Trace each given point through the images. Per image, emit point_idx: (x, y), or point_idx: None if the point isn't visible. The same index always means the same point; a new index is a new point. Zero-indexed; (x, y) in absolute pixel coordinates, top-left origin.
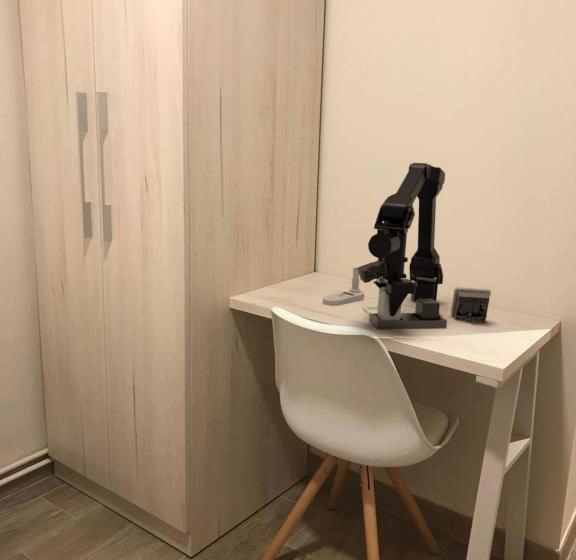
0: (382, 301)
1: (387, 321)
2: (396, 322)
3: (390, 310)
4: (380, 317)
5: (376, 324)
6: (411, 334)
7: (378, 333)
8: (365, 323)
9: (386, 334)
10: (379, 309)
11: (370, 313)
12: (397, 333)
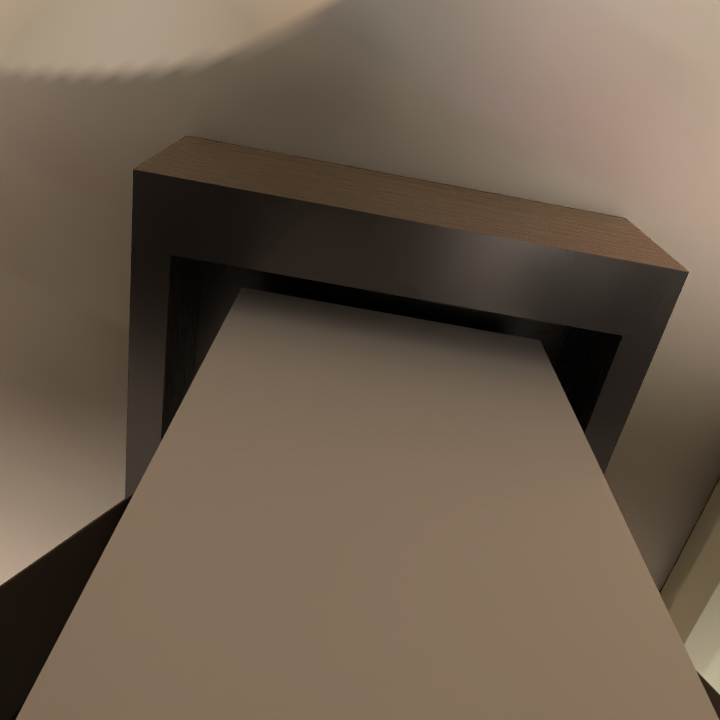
0: (268, 564)
1: (131, 348)
2: (131, 470)
3: (93, 522)
4: (367, 340)
5: (214, 162)
6: (17, 498)
7: (68, 99)
8: (625, 149)
9: (15, 200)
10: (470, 426)
11: (679, 289)
12: (60, 368)
